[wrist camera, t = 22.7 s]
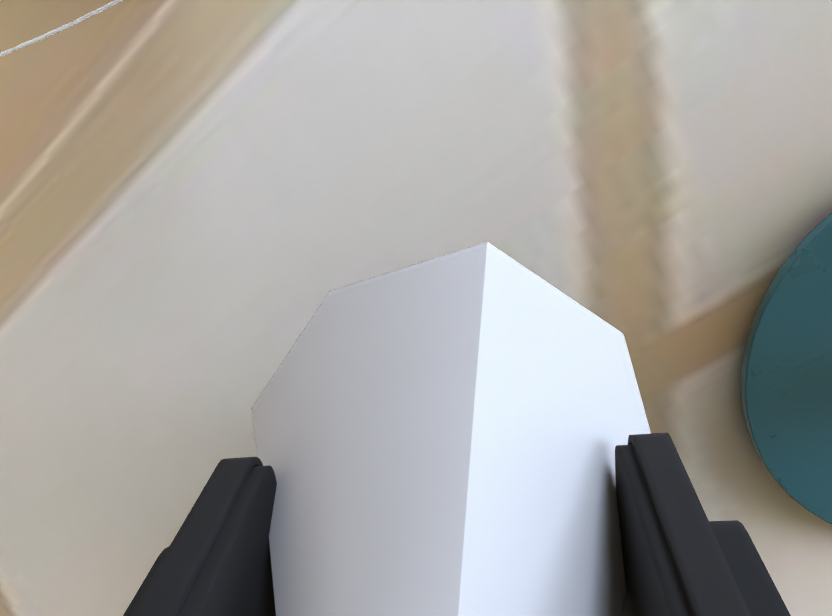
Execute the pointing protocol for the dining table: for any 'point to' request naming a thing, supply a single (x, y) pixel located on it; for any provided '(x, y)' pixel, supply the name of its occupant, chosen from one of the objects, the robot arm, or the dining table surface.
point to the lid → (795, 374)
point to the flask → (449, 448)
